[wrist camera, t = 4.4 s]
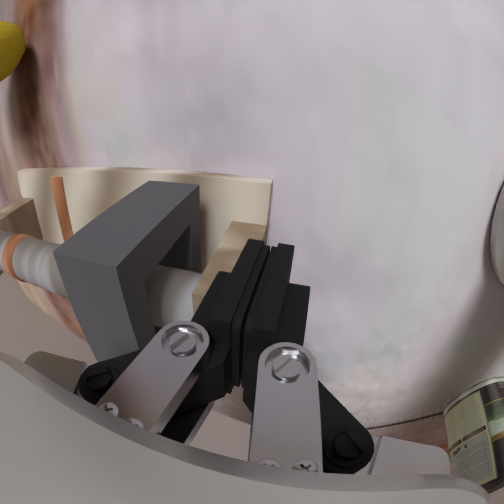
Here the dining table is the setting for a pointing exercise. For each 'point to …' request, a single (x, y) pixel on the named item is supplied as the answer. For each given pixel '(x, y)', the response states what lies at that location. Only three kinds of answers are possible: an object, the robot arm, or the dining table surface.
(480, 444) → the coffee can
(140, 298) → the grey frame
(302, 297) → the robot arm
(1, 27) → the lemon
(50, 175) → the pipe stand
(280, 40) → the dining table surface
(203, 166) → the dining table surface
